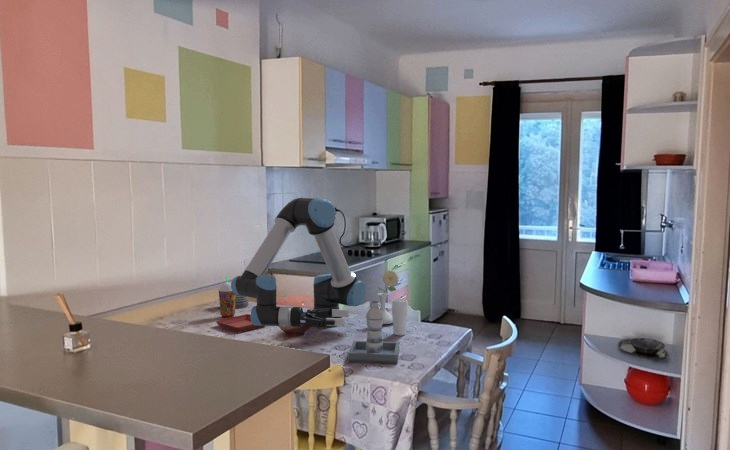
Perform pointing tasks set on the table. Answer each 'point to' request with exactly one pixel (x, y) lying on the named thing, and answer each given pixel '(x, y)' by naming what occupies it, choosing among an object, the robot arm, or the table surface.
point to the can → (241, 302)
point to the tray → (361, 356)
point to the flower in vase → (390, 280)
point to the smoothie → (227, 300)
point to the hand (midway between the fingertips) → (346, 317)
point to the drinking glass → (399, 316)
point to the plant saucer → (238, 323)
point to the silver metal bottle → (374, 328)
